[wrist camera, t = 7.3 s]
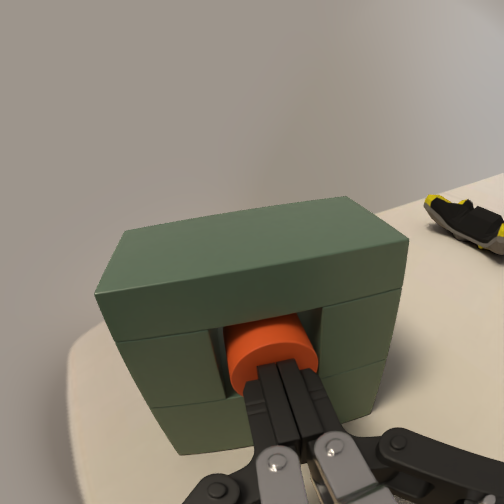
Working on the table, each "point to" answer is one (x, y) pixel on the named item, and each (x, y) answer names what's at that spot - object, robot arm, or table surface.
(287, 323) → the push knob
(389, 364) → the table surface
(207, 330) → the block
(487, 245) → the toy running shoe
